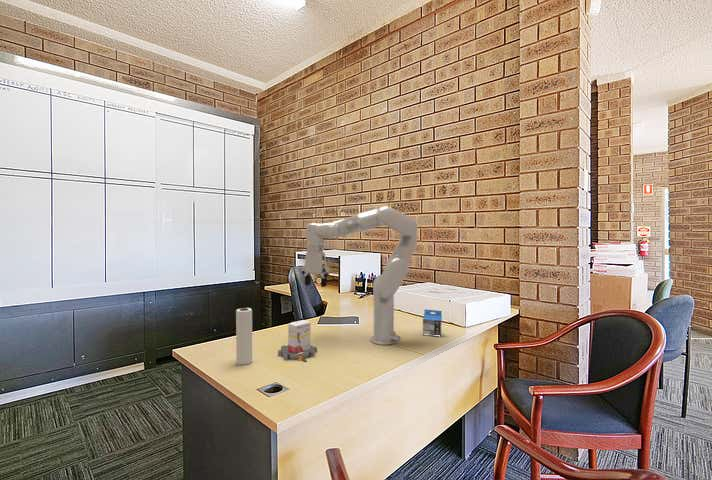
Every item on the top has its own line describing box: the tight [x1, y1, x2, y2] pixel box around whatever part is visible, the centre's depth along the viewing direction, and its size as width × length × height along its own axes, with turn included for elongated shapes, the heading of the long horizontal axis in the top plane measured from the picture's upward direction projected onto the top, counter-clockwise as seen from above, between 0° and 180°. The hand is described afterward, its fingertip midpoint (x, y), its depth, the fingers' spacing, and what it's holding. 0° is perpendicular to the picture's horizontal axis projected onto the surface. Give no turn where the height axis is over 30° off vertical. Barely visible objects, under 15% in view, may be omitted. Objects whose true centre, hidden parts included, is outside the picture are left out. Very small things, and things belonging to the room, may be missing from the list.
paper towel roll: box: [235, 307, 253, 366], centre depth 142 cm, size 7×6×21 cm
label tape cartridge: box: [422, 309, 443, 336], centre depth 179 cm, size 9×4×12 cm, turn 68°
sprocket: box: [277, 344, 318, 362], centre depth 152 cm, size 16×16×6 cm
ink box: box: [287, 319, 311, 354], centre depth 150 cm, size 9×5×12 cm, turn 139°
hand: (315, 285), depth 168 cm, fingers open, 9 cm apart
